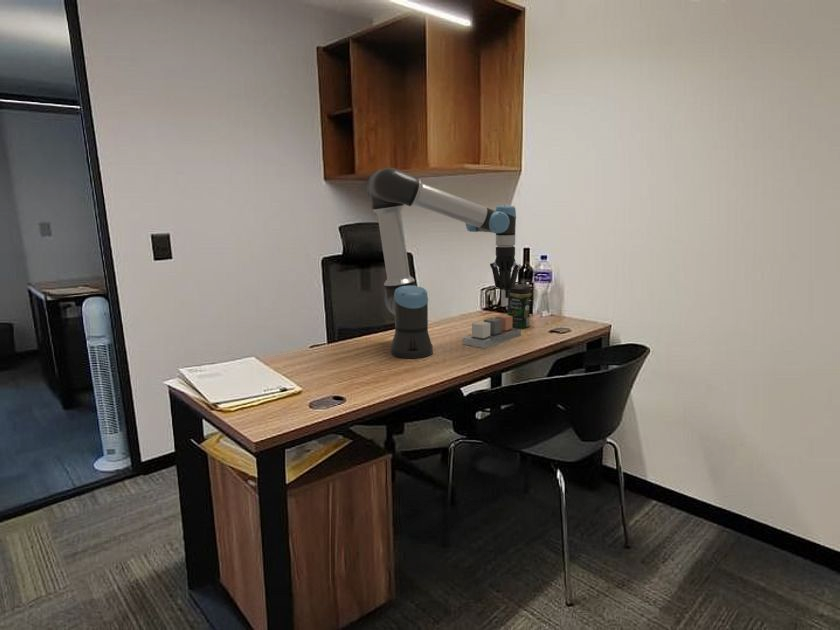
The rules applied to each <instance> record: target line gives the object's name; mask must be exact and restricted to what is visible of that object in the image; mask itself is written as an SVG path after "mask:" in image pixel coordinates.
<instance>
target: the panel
mask: <svg viewBox="0 0 840 630" xmlns="http://www.w3.org/2000/svg"><path fill="white" fill-rule="evenodd" d="M521 332H522V328H514V327H512V329H509V330H502V332H500V333H497V334H490V336H488V337H485V338H478V337H473V336H472V334H471V335H467V336H464V337H462V345H464V346H469V345H470V346H469V347H475V348H478V349H479V348H480V349H487V348H490V347H492V346H495V345H498V344H501V343H504V342H507V341H509V340H512V339H515V338H517V337H519V336H521V335H522V333H521Z"/></svg>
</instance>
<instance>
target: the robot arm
mask: <svg viewBox="0 0 840 630" xmlns="http://www.w3.org/2000/svg"><path fill="white" fill-rule="evenodd" d="M366 184H367V185H366V191H367V194H368V197H369V198H370V203H371V208H372V211H373V213H375V214H376V215H377V219H378V227H379V228H378V229H379V234H380V240H381V247H382V253H383V260H384V266H385V267H384V268H385V273H386V280H385V282H384V283H383V286H384V292H385V293H384V296H383V297H384V304H385V307H386V309H387V311H388V312H390V314H392V315H394V335H393V339H392V342H391V345H390V354H391V355H392V356H393V357H397V358H399V359H400V358H401V359H421V358H426V357H428V356H431V355H433V354H434V346H433V344H432V341H431V337H430V334H429V331H428V328H429V321H428V320H429V319H428V318H429V315H428V314H429V312H428V310H429V309H428V307H429V306H428V305H429V304H428V302H429V297H428V291H427V290H426V289H425V288H424V287H421V286H417V285H416V281H415V278H414V277H412V276H411V274H410V267H409V259H408V252H407V247H406V245H407V244H406V240H405V230H404V226H403V225H404V224H403V218H402V210H403V208H404V207H405V206H409V207H412V206H417V207H419V208H422V209H426V210H428V211H431V212H435V213H437V214H438V215H443V216H445V217H448V218H452V219H453V220H456V221H459V222H462V223H465V226H466V227H465V228H466V231H468V232H470V233H472V232H474V233H477V232H479V233H480V232H481V233H493V234H495V260H494V262H491V263H490V264H489V266H490V268H491V270H492V276H493V281H494V286H495V288H498V289H499V297H500V299H501V300H500V303H501V304H500V306H501V307H507V306H509V297H510V289H512V288H514V287H515V284H517V283H516V282H517V277H518V274H519V270H520V269H521V267H522V266H521V265H522V264H518V263H517V262H516V259H515V257H516V247H515V245H516V224H517V223H516V221H517V220H516V219H517V213H516V211H517V209H516V207H515V205H498V206H496V207H495V209H491V208H488V207H486V206H483V205H481V204H478V203H476V202H473V201H470V200H469V199H468V200H467V199H465V198H463V197H460V196H457V195H454V194H452V193H449V192H447V191H444V190H441V189H438V188H435V187H433V186H431V185H427V184H425V183H422V181H421V179H420V178H418V177H415V176H413V175H410V174H408V173H407V172H404V171H402V170H400V169H397V168H394V167H386V168H383V169H379V170H377V171H375V172H374V173H372V174H371V175H370V177H369V179H368V182H367V183H366ZM512 268H513V269H512Z"/></svg>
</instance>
